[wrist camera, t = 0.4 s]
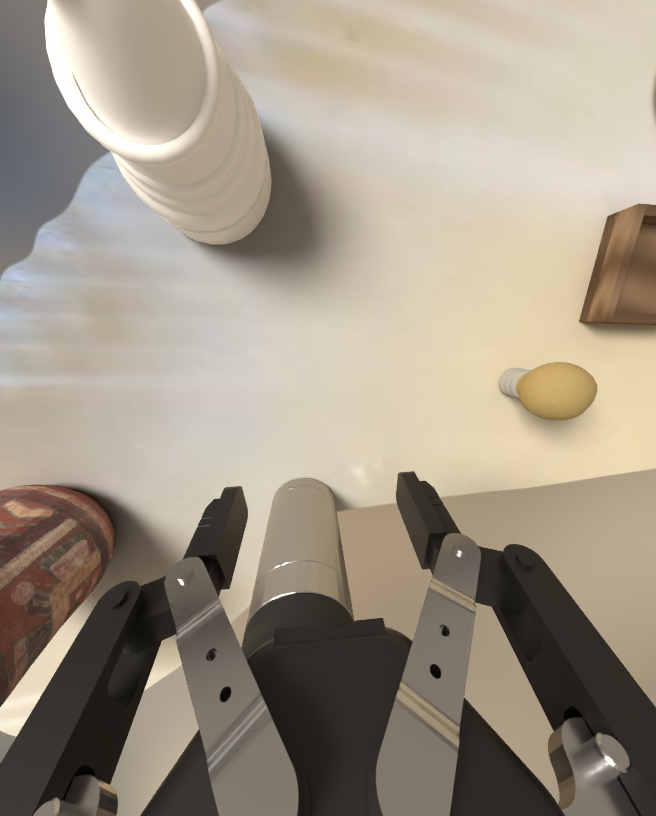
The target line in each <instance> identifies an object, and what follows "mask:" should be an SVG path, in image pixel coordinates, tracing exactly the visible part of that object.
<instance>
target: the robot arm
mask: <svg viewBox="0 0 656 816" xmlns="http://www.w3.org/2000/svg"><path fill="white" fill-rule="evenodd" d="M396 500H397V505H398V508H399V511H400V513H401V516H402V518H403V521H404V524H405V526H406V529H407V531H408V534H409V537H410V539H411V542H412V544H413V547H414V550H415V552H416V554H417V557H418V560H419V562H420V565H421V568H422V569H430V570H431V572H432V575H433V577H432V580H431V582H430V585H429V588H428V592H427V595H426V598H425V602H424V605H423V608H422V612H421V615H420V619H419V622H418V625H417V629H416V632H415V636H414V639H413V641H411V640H410V639H409V638H408V637H406V636H405V635H403V634H402V633H400V632H398V631H396V630H393V629H391V628H387V627H385V625H384V621H383V618H377V619H367V620H357V621H355V622H354V616H353V611H352V604H351V598H350V592H349V587H348V581H347V575H346V568H345V562H344V556H343V550H342V544H341V538H340V531H339V525H338V519H337V513H336V507H335V501H334V497H333V494H332V492H331V491H330V490H329V488H328V487H327V486H325V485H324V484H323V483H321V482H319V481H317V480H314V479H309V478H300V479H295V480H292V481H289V482H288V483H286V484H284V485H283V486H282V487H281V488H279V490H278V491H277V492H276V494H275V496H274V498H273V503H272V507H271V512H270V516H269V520H268V525H267V529H266V534H265V539H264V544H263V548H262V553H261V558H260V562H259V567H258V572H257V576H256V581H255V586H254V590H253V596H252V600H251V605H250V610H249V615H248V619H247V624H246V629H245V634H244V639H243V643H242V648H241V647H240V645H239V642H238V640H237V638H236V635H235V633H234V631H233V629H232V626H231V624H230V622H229V620H228V617H227V615H226V613H225V610H224V608H223V606H222V604H221V601H220V599H219V594H220V591H221V590H222V589H230V585H231V581H232V577H233V573H234V569H235V565H236V562H237V558H238V554H239V550H240V546H241V542H242V538H243V534H244V531H245V527H246V523H247V518H248V509H247V504H246V501H245V497H244V493H243V490H242V487H241V486H237V487H226V488H224V490H223V492H222V495H221V497H220V499H214V500H213V501H212V502H211V503H210V504H209V505H208V506H207V507H206V509H205V511H204V513H203V516H202V519H201V520H200V522H199V524H198V528H197V529H196V531H195V533H194V536H193V538H192V540H191V542H190V544H189V547H188V549H187V551H186V553H185V556H184V558H183V560H181V561H180V562H178V563H177V564H176V565H174V566H173V567H172V569H171V570H170V571H169V572H168V574H167V575H166V576H165V577H163V578H160V579H158V580H156V581H153V582H150V583H148V584H145V585H143V586H139V584H138V583H137V582H135V581H126V582H123V583H120V584H118V585H116V586H114V587H113V588H111V589H110V590H109V591H108V592H106V593H105V594H104V595H103V596H102V597H101V599H100V600H99V601H98V603H97V604H96V606H95V607H94V609H93V611H92V612H91V614H90V616H89V617H88V619H87V621H86V622H85V624H84V626H83V627H82V629H81V631H80V632H79V634H78V636H77V637H76V639H75V641H74V642H73V644H72V646H71V647H70V649H69V651H68V652H67V654H66V656H65V657H64V659H63V661H62V662H61V664H60V666H59V667H58V669H57V671H56V672H55V674H54V676H53V677H52V679H51V681H50V682H49V684H48V686H47V687H46V689H45V691H44V692H43V694H42V696H41V697H40V699H39V701H38V702H37V704H36V706H35V707H34V709H33V711H32V712H31V714H30V716H29V717H28V719H27V721H26V722H25V724H24V726H23V727H22V729H21V731H20V732H19V734H18V736H17V737H16V739H15V741H14V742H13V744H12V745H11V747H10V749H9V751H8V752H7V754H6V756H5V757H4V759H3V761H2V762H1V764H0V816H116V815H117V807H118V799H117V794H116V791H115V789H114V788H113V787H112V786H111V785H110V783H111V780H112V777H113V775H114V772H115V769H116V766H117V763H118V761H119V758H120V755H121V752H122V750H123V747H124V744H125V741H126V739H127V736H128V733H129V730H130V727H131V725H132V722H133V719H134V716H135V714H136V711H137V708H138V705H139V703H140V700H141V697H142V694H143V691H144V689H145V686H146V683H147V680H148V678H149V675H150V672H151V669H152V666H153V664H154V661H155V658H156V655H157V653H158V650H159V647H160V644H161V641H162V640H164V639H166V638H168V637H171V636H173V635H175V634H177V635H176V643H177V647H178V650H179V654H180V658H181V662H182V666H183V669H184V673H185V677H186V681H187V685H188V688H189V692H190V696H191V700H192V703H193V707H194V711H195V715H196V719H197V722H198V726H199V730H198V731H197V733H196V735H195V736H194V737H193V739H192V740H191V742H190V743H189V744H188V746H187V747H186V749H185V750H184V752H183V754H182V755H181V756H180V758H179V759H178V761H177V762H176V764H175V765H174V767H173V768H172V770H171V771H170V772H169V774H168V776H167V777H166V778H165V780H164V781H163V783H162V784H161V786H160V787H159V789H158V790H157V792H156V793H155V795H154V796H153V798H152V799H151V800H150V802H149V803H148V805H147V806H146V808H145V809H144V811H143V812H142V814H141V815H140V816H656V707H655V706H654V705H653V703H652V702H651V701H650V699H649V698H648V697H647V696H646V694H645V693H644V692H643V690H642V689H641V688H640V686H639V685H638V684H637V682H636V681H635V680H634V678H633V677H632V676H631V675H630V673H629V672H628V671H627V669H626V668H625V667H624V665H623V664H622V663H621V661H620V660H619V659H618V657H617V656H616V655H615V654H614V652H613V651H612V650H611V648H610V647H609V646H608V644H607V643H606V642H605V640H604V639H603V638H602V636H601V635H600V634H599V632H598V631H597V630H596V629H595V627H594V626H593V625H592V623H591V622H590V621H589V620H588V618H587V617H586V615H584V613H583V611H582V610H581V609H580V608H579V606H578V605H577V604H576V602H575V601H574V600H573V598H572V597H571V596H570V594H569V593H568V592H567V591H566V589H565V588H564V587H563V585H562V584H561V583H560V581H559V580H558V579H557V577H556V576H555V575H554V573H553V572H552V571H551V569H550V568H549V567H548V566H547V564H546V563H545V562H544V561H543V559H542V558H541V557H540V556H539V555H538V554H537V553H535V552H534V551H533V550H531V549H529V548H527V547H525V546H522V545H517V544H510V545H508V546H506V547H505V548H504V551H503V552H502V551H497V550H493V549H488V548H483V547H479V546H478V545H476V543H475V542H474V541H473V540H472V539H470V538H469V537H467V536H465V535H463V534H461V533H460V531H459V530H458V528H457V526H456V525H455V523H454V521H453V520H452V518H451V516H450V514H449V513H448V511H447V509H446V508H445V506H444V505H443V502H442V501H441V499H440V498H439V496H438V494H437V492H436V491H435V489H434V488H433V487H432V486H431V485H430V484H429V483H427V482H426V481H419V479H418V478H417V476H416V474H415V472H413V471H412V472H400V473H398V480H397V490H396ZM475 602H476V603H480V604H483V605H487V606H491V607H492V608H493V610H494V612H495V614H496V616H497V618H498V620H499V622H500V624H501V626H502V628H503V630H504V632H505V634H506V636H507V638H508V640H509V642H510V644H511V646H512V648H513V650H514V652H515V654H516V656H517V658H518V660H519V662H520V664H521V666H522V668H523V670H524V672H525V674H526V676H527V678H528V680H529V682H530V684H531V686H532V688H533V690H534V692H535V694H536V696H537V698H538V700H539V702H540V704H541V706H542V708H543V710H544V712H545V714H546V716H547V718H548V720H549V722H550V725H551V726H552V729H553V730H554V732H553V733H552V734H551V736H550V738H549V742H548V752H549V757H550V761H551V764H552V766H553V769H554V772H555V775H556V778H557V781H558V786H559V792H560V800H559V805H558V804H557V802H556V801H555V799H554V798H553V797H552V795H551V794H550V793H549V791H548V790H547V789H546V788H545V786H544V785H543V784H542V783H541V782H540V780H538V778H537V777H536V776H535V775H534V774H533V773H532V772H531V771H530V770H529V768H527V766H526V765H525V764H524V763H523V762H522V761H521V760H520V758H519V757H518V756H517V755H516V754H515V753H514V752H513V751H512V750H511V749H510V747H509V746H508V745H507V744H506V743H505V742H504V741H503V740H502V739H501V738H500V736H499V735H498V734H497V733H496V732H495V731H494V730H493V729H492V728H491V726H490V725H489V724H488V723H487V722H486V721H485V720H484V719H483V718H482V717H481V715H480V714H478V712H477V711H476V710H475V709H474V708H473V707H472V706H471V704H470V703H469V702H468V701H467V700H466V699H465V698H464V692H465V685H466V678H467V671H468V664H469V657H470V649H471V641H472V635H473V627H474V620H475V612H476V605H475Z"/></svg>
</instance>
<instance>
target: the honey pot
mask: <svg viewBox="0 0 656 816" xmlns="http://www.w3.org/2000/svg"><path fill="white" fill-rule="evenodd" d="M45 33H46V47H47V52H48V56H49V59H50V63H51V67H52V70H53V74H54V77H55V80H56V83H57V85H58V87H59V88H60V91H61V93H62V95H63V97H64V99H65V101H66V103H67V105H68V107H69V108H70V109H71V111H72V112H73V113H74V115H75V116H76V117H77V118H78V120H79V121H80V123H81V124H82V125H83V126H84V128H85V129H86V130H87V132H88V133H90V134H91V135H92V136H93V137H94V138H95V139H96V140H97V141H99V142H100V143H101V144H102V145H103V146H104V147H105V148H106V149H108V150H110V151H111V153H112V155H113V157H114V159H115V161H116V163H117V165H118V167H119V169H120V171H121V173H122V175H123V176H124V178H125V179H126V180H127V182H128V183H129V184H130V186H131V187H132V188H133V189H134V191H135V192H136V193H137V195H138V196H139V197H140V199H142V200H143V201H144V202H145V203H146V204H147V205H148V206H150V207H151V208H152V209H153V210H154V211H155V212H157V213H158V214H159V215H160V216H162V217H163V218H164V219H165V220H166V221H168V222H169V223H170V224H171V225H172V226H174V227H175V228H176V229H177V230H178V231H180V232H181V233H182V234H184V235H186V236H188V237H190V238H192V239H194V240H196V241H198V242H202V243H207V244H211V245H220V244H230V243H232V242H235V241H238V240H240V239H243V238H244V237H245V236H247V235H248V234H249V233H250V232H252V231H253V230H254V229H255V228H256V227H257V225H258V224H259V222H260V221H261V219H262V218H263V217H264V214H265V212H266V209H267V206H268V203H269V201H270V193H271V184H272V180H271V171H270V162H269V158H268V153H267V149H266V144H265V140H264V135H263V132H262V126H261V123H260V120H259V117H258V114H257V111H256V108H255V105H254V103H253V100H252V98H251V97H250V95H249V93H248V91H247V90H246V88H245V86H244V85H243V83H242V81H241V79H240V78H239V76H238V75H237V73H236V72H235V71H234V70H233V69H232V68H231V66H230V65H229V63H228V61H227V59H226V58H225V56H224V54H223V53H222V51H221V49H220V48H219V46H218V44H217V43H216V42H215V41H214V39H213V36H212V33H211V30H210V27H209V24H208V22H207V20H206V19H205V17H204V15H203V13H202V12H201V10H200V8H199V7H198V5H197V3H196V1H195V0H48V4H47V10H46V15H45ZM75 78H76V80H77V82H78V85H79V86H80V89H81V91H82V93H83V95H84V97H85V99H86V101H87V103H88V105H89V107H88V105H87V104H86V102H85V100H84V98H83V96H82V94H81V92H80V90H79V88H78V86H77V84H76V80H75Z"/></svg>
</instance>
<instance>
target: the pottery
mask: <svg viewBox="0 0 656 816" xmlns="http://www.w3.org/2000/svg"><path fill="white" fill-rule="evenodd" d="M114 546H115V535H114V528H113V524H112V522H111V519H110V517H109V515H108V513H107V511H106V510H105V509H104V508H103V507H102V506H101V505H100V504H99V503H98V502H97V501H96V500H94V499H93V498H91V497H89V496H88V495H86V494H84V493H80V492H77V491H74V490H71V489H68V488H64V487H61V486H56V485H25V486H16V487H13V488H9V489H5V490H1V491H0V707H1V706H2V704H3V703H4V702H5V700H6V699H7V698H8V696H9V695H10V694H11V692H12V691H13V690H14V688H15V687H16V685H17V684H18V683H19V681H20V680H21V679H22V677H23V676H24V675H25V673H26V672H27V670H28V669H29V668H30V666H31V665H32V664H33V662H34V661H35V660H36V659H37V657H38V656H39V655H40V653H41V652H42V651H43V650H44V648H45V647H46V646H47V644H48V643H49V642H50V641H51V639H52V638H53V637H54V635H55V634H56V633H57V631H58V630H59V629H60V628H61V627H62V625H63V624H64V623H65V622H66V621H67V620H68V618H69V617H70V616H71V615H72V614H73V613H74V612H75V610H76V609H77V608H78V607H79V606H80V605H81V603H82V602H83V601H84V600H85V599H86V598H87V596H88V595H89V594H90V593H91V592H92V591H93V589H94V588H95V587H96V585H97V584H98V583H99V581H100V580H101V578H102V576H103V574H104V573H105V571H106V568H107V566H108V564H109V562H110V559H111V557H112V554H113V550H114Z"/></svg>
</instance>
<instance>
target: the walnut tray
mask: <svg viewBox="0 0 656 816" xmlns="http://www.w3.org/2000/svg"><path fill="white" fill-rule="evenodd" d="M579 322H595V323H622V324H648V325H656V205H649V204H637V205H635V206H632V207H630V208H627V209H625V210H622V211H620V212H617V213H615V214H612V215H610V216H608V218H607V221H606V225H605V229H604V232H603V236H602V240H601V243H600V247H599V251H598V254H597V258H596V262H595V265H594V269H593V273H592V276H591V280H590V284H589V287H588V291H587V295H586V298H585V302H584V306H583V309H582V313H581V317H580V320H579Z"/></svg>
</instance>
